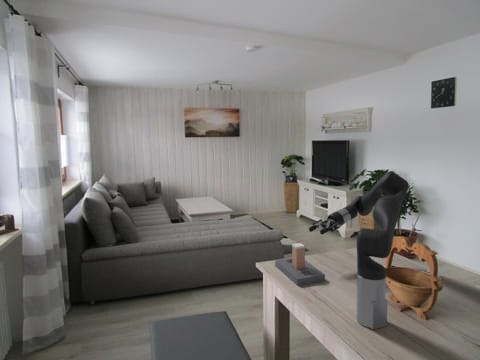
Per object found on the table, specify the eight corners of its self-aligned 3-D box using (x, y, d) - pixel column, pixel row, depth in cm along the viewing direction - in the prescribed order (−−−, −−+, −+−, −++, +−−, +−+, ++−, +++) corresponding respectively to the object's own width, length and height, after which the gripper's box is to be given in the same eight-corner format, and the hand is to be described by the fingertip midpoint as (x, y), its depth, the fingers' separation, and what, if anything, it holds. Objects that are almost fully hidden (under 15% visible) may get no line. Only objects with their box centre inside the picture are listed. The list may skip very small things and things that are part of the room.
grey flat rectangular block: (324, 280, 147) (324, 274, 146) (297, 285, 143) (297, 278, 142) (299, 261, 169) (299, 256, 169) (275, 265, 165) (275, 260, 165)
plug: (304, 273, 155) (304, 245, 153) (296, 275, 153) (296, 247, 151) (300, 270, 159) (300, 243, 157) (292, 271, 157) (292, 244, 156)
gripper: (351, 227, 157) (326, 241, 151) (331, 223, 170) (307, 235, 164) (347, 212, 156) (322, 226, 150) (327, 210, 169) (303, 222, 162)
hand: (314, 231), depth 157 cm, fingers open, 8 cm apart
